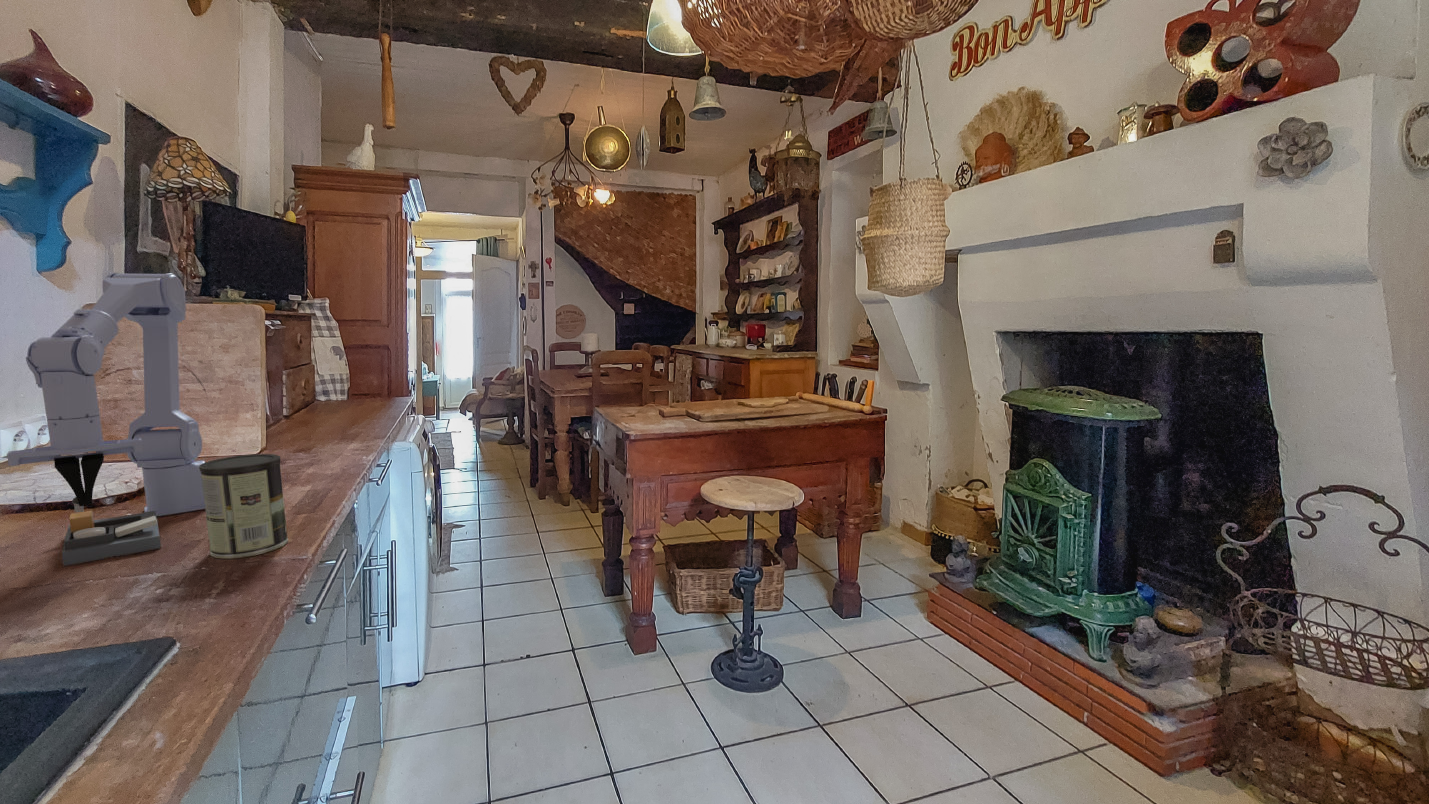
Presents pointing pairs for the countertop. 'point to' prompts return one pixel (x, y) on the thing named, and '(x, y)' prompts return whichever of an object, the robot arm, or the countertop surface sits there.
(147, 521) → the beige flat panel
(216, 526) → the coffee can
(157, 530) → the console
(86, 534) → the button
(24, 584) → the countertop surface
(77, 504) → the lever
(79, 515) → the slider
